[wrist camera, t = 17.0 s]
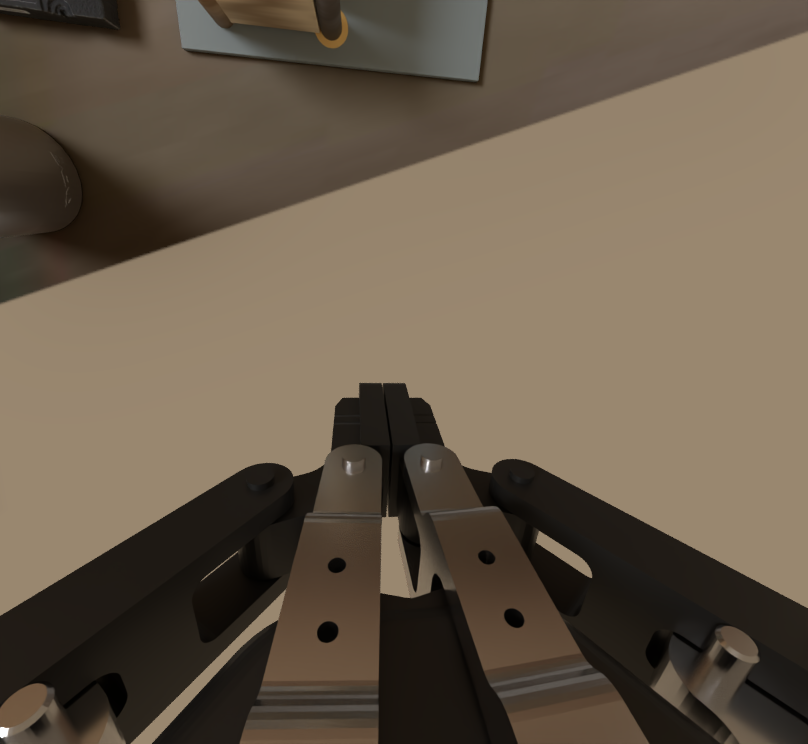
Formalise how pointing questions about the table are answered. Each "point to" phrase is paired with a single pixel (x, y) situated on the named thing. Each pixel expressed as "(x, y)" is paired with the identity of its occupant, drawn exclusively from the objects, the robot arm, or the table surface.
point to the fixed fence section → (279, 14)
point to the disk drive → (66, 11)
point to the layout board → (359, 38)
